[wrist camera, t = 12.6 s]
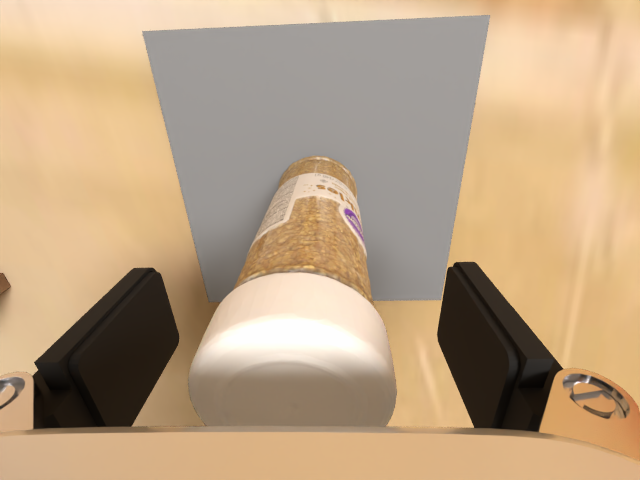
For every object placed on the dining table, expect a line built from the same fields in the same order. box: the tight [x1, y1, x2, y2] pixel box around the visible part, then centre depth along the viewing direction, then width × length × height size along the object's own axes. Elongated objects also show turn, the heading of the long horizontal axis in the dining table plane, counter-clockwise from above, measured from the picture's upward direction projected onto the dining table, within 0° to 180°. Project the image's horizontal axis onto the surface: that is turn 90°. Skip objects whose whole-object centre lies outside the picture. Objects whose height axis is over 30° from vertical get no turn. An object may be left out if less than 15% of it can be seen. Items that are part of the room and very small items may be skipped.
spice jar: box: [188, 156, 397, 427], centre depth 13 cm, size 5×5×14 cm
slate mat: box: [142, 15, 490, 302], centre depth 19 cm, size 16×16×1 cm
